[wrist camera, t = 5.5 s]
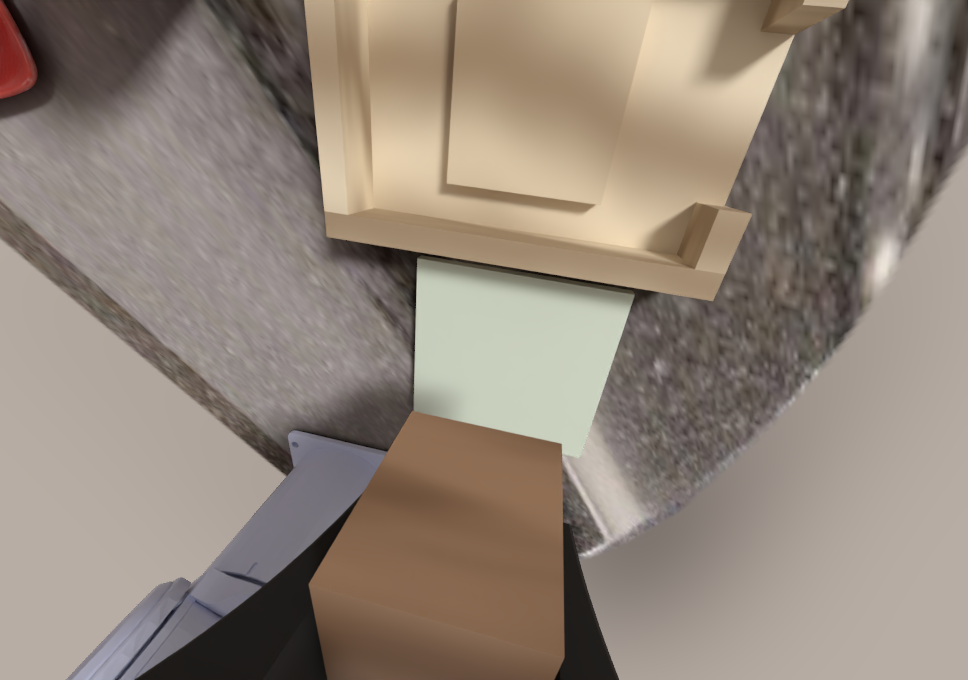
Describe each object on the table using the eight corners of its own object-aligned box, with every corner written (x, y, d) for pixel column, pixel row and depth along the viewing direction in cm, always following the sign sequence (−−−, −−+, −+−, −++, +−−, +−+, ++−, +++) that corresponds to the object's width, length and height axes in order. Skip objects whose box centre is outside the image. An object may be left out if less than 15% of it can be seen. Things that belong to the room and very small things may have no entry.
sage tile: (579, 450, 21) (580, 458, 20) (416, 414, 22) (413, 421, 21) (632, 290, 16) (634, 294, 16) (421, 255, 17) (417, 258, 17)
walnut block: (533, 541, 12) (519, 753, 8) (409, 510, 13) (329, 692, 8) (561, 443, 10) (564, 658, 6) (411, 410, 11) (308, 584, 6)
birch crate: (686, 276, 15) (712, 300, 13) (362, 224, 17) (326, 236, 14) (833, -92, 10) (928, -178, 8) (346, -114, 12) (286, -191, 9)
